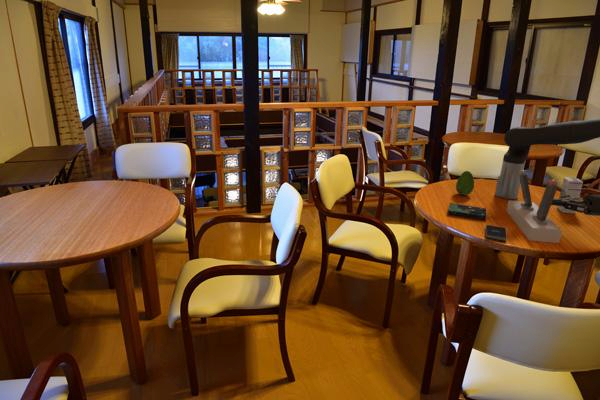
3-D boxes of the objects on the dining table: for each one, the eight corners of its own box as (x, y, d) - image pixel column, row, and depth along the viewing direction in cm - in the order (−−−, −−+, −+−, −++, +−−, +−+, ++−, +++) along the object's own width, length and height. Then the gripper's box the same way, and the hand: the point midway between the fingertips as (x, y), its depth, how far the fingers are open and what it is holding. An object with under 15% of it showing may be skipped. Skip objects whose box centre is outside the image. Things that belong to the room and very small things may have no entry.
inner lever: (529, 201, 169) (523, 167, 165) (534, 206, 165) (527, 170, 161) (522, 203, 170) (516, 169, 166) (526, 207, 165) (520, 172, 162)
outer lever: (541, 216, 156) (555, 178, 150) (546, 221, 151) (561, 182, 146) (534, 215, 156) (547, 177, 151) (538, 220, 151) (553, 181, 146)
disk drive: (484, 214, 175) (448, 208, 180) (486, 208, 174) (449, 202, 179) (485, 222, 166) (447, 216, 171) (487, 216, 165) (448, 209, 170)
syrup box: (575, 213, 177) (584, 181, 172) (560, 212, 178) (569, 180, 173) (570, 209, 182) (578, 177, 177) (555, 207, 183) (563, 176, 178)
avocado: (464, 198, 192) (468, 173, 188) (451, 193, 198) (455, 169, 194) (475, 196, 196) (480, 172, 192) (462, 191, 202) (466, 167, 198)
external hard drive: (504, 232, 157) (505, 227, 156) (505, 243, 147) (507, 238, 147) (485, 229, 159) (486, 224, 159) (485, 240, 150) (486, 235, 149)
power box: (531, 213, 176) (534, 200, 174) (558, 243, 148) (563, 227, 146) (506, 211, 177) (509, 198, 175) (529, 240, 150) (532, 225, 148)
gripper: (593, 190, 153) (544, 186, 156) (613, 202, 141) (558, 197, 144) (588, 209, 156) (539, 204, 159) (606, 222, 144) (553, 217, 146)
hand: (548, 201), depth 151 cm, fingers closed
